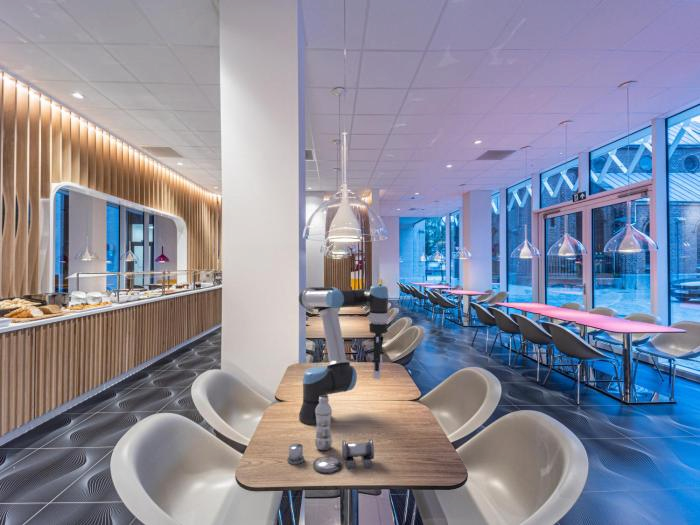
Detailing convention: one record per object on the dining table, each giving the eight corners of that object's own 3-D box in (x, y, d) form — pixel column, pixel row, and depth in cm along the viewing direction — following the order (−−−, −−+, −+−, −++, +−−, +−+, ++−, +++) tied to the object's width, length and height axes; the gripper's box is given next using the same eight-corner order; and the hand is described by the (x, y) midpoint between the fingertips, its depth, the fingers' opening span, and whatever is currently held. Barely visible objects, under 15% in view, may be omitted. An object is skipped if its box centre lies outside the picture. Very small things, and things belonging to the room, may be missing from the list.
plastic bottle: (325, 454, 137) (326, 400, 138) (311, 449, 141) (311, 397, 141) (335, 447, 142) (335, 395, 143) (321, 443, 146) (321, 392, 147)
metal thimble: (283, 461, 131) (284, 447, 131) (294, 455, 136) (294, 441, 136) (296, 466, 128) (296, 452, 128) (307, 459, 133) (307, 445, 133)
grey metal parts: (313, 474, 123) (313, 450, 123) (312, 459, 132) (312, 437, 133) (375, 470, 126) (375, 446, 126) (369, 456, 135) (369, 434, 136)
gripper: (386, 327, 138) (385, 383, 138) (388, 319, 163) (387, 366, 163) (367, 327, 139) (366, 382, 139) (371, 318, 164) (371, 365, 164)
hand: (377, 373), depth 151 cm, fingers open, 13 cm apart
